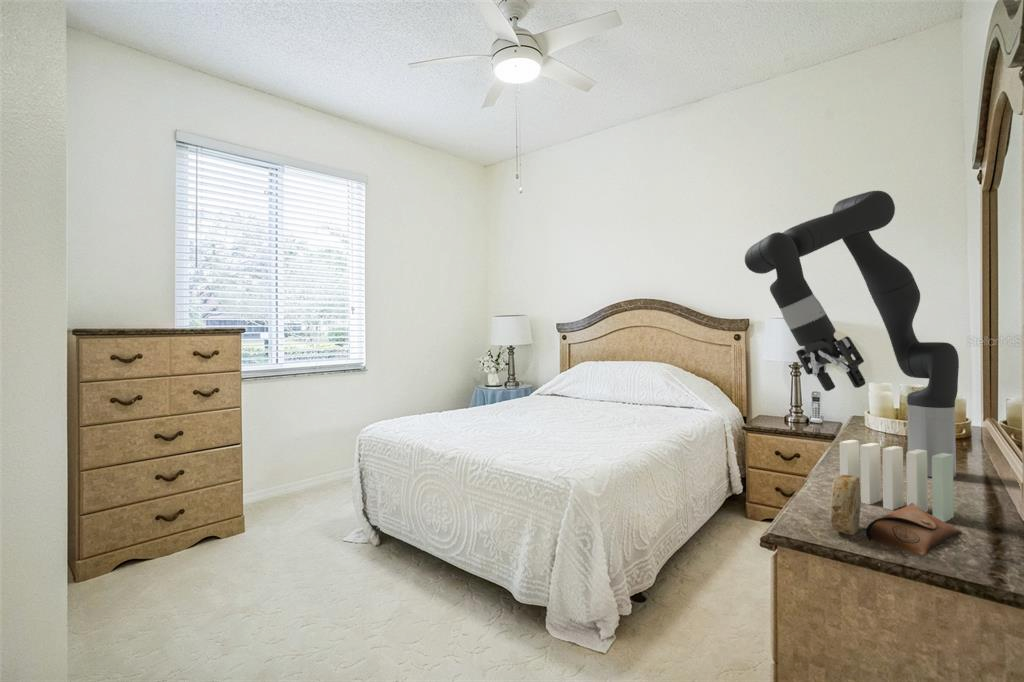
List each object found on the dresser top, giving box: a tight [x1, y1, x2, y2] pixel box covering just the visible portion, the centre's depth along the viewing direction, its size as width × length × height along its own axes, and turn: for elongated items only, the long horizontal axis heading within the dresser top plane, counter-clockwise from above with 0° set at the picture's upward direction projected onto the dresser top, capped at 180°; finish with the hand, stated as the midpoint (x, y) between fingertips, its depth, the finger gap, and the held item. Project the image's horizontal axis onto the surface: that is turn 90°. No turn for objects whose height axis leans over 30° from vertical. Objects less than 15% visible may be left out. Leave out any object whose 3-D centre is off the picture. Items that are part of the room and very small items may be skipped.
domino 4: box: [905, 449, 929, 513], centre depth 97 cm, size 2×5×12 cm, turn 121°
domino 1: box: [839, 439, 861, 483], centre depth 107 cm, size 2×5×12 cm, turn 121°
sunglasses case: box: [865, 503, 961, 556], centre depth 86 cm, size 18×7×7 cm
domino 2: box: [859, 442, 882, 505], centre depth 104 cm, size 2×5×12 cm, turn 121°
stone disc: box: [829, 475, 862, 536], centre depth 88 cm, size 10×4×10 cm, turn 135°
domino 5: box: [931, 453, 955, 523], centre depth 94 cm, size 2×5×12 cm, turn 121°
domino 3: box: [882, 445, 905, 511], centre depth 100 cm, size 2×5×12 cm, turn 122°
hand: (845, 387), depth 105 cm, fingers open, 8 cm apart
